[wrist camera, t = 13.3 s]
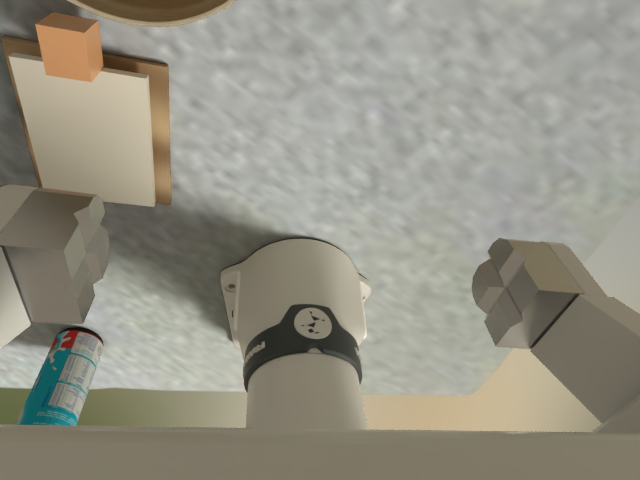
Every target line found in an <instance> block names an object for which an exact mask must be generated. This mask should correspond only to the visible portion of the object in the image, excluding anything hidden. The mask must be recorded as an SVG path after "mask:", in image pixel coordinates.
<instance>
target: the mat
mask: <svg viewBox="0 0 640 480" xmlns="http://www.w3.org/2000/svg"><path fill="white" fill-rule="evenodd" d="M1 42H2V46H3V50H4V54H5V58H6V61H7V65H8V69H9V73H10V77H11V81H12V84H13V88H14V92H15V96H16V100H17V104H18V107H19V111H20V115H21V119H22V123H23V127H24V131H25V134H26V138H27V142H28V146H29V150H30V154H31V157H32V161H33V165H34V169H35V173H36V177H37V180H38V184H39V188H43V187H42V183H41V179H40V175H39V171H38V167H37V164H36V160H35V156H34V152H33V148H32V144H31V141H30V137H29V133H28V129H27V125H26V121H25V117H24V114H23V110H22V106H21V102H20V98H19V94H18V91H17V87H16V83H15V79H14V75H13V71H12V67H11V64H10V60H9V56H10V55H11V54H12V53H19V54H25V55H31V56H37V57H42V54H41V49H40V45H39V42H35V41H30V40H24V39H18V38H13V37H7V36H4V37H2V38H1ZM102 57H103V65H104V68H110V69H116V70H122V71H128V72H134V73H140V74H146V75H149V93H150V110H151V128H152V146H153V164H154V182H155V200H156V202H155V203H156V204H165V205H170V204H171V171H170V123H169V76H168V65H167V64H161V63H155V62H150V61H144V60H138V59H132V58H127V57H121V56H115V55H110V54H104V53H102Z"/></svg>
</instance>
